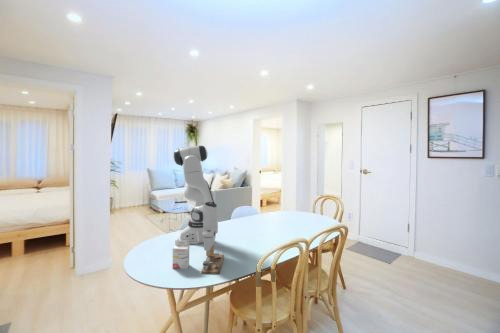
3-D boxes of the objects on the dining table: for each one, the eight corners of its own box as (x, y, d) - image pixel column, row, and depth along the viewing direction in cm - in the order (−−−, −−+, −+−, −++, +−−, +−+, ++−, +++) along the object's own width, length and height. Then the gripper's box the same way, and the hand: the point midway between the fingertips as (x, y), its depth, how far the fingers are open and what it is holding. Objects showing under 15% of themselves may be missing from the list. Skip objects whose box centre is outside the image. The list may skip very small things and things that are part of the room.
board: (201, 273, 134) (201, 265, 133) (208, 255, 156) (208, 249, 155) (219, 273, 134) (219, 266, 133) (224, 256, 156) (224, 249, 155)
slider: (206, 258, 148) (206, 247, 148) (207, 255, 152) (207, 245, 152) (219, 258, 148) (219, 248, 148) (220, 256, 152) (220, 245, 152)
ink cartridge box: (172, 268, 138) (172, 243, 137) (174, 264, 143) (174, 239, 142) (187, 268, 138) (187, 243, 137) (189, 264, 143) (189, 240, 142)
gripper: (208, 224, 159) (208, 244, 160) (201, 235, 139) (201, 259, 140) (218, 224, 159) (217, 245, 160) (213, 235, 139) (212, 259, 140)
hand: (210, 251), depth 150 cm, fingers closed on slider, 4 cm apart
